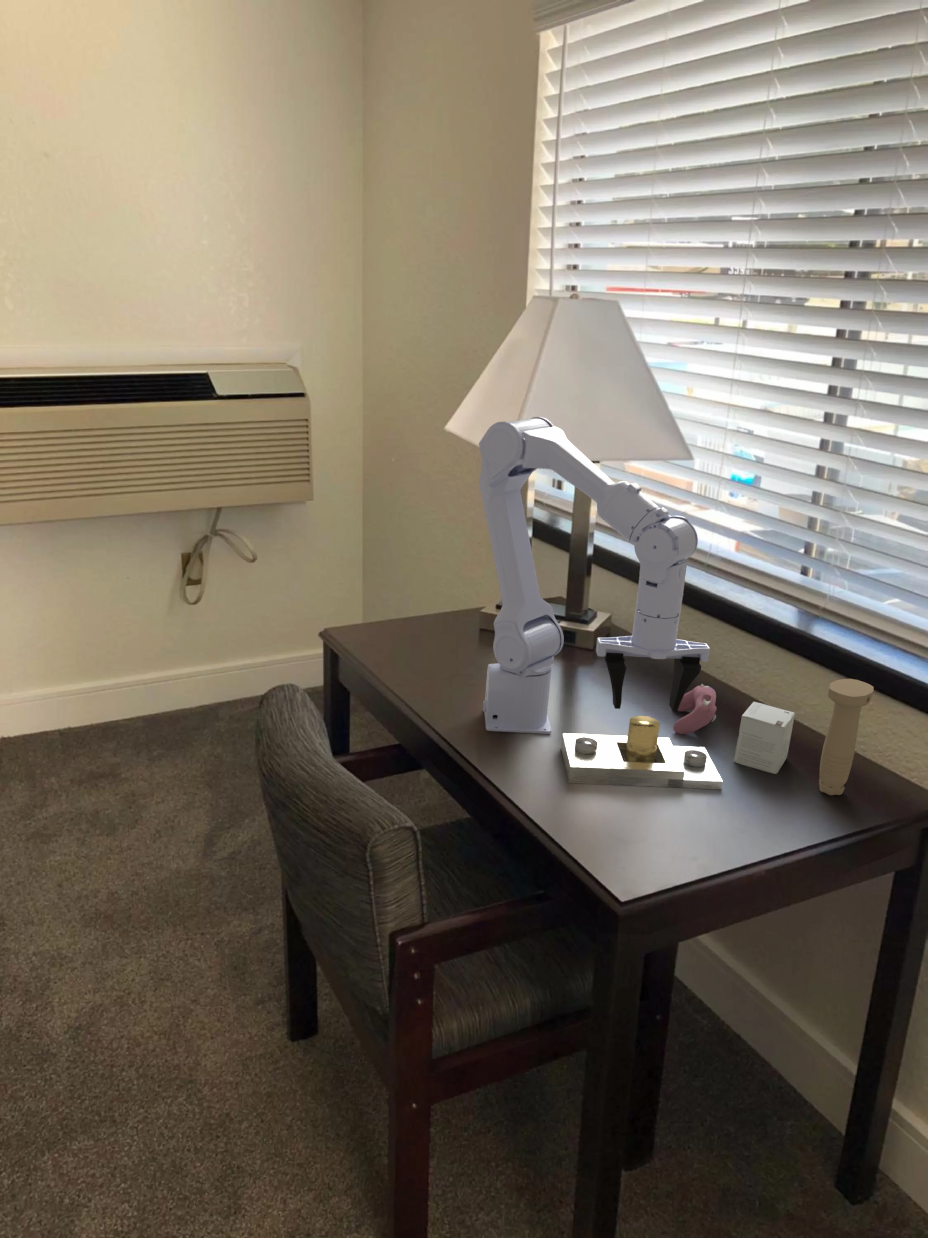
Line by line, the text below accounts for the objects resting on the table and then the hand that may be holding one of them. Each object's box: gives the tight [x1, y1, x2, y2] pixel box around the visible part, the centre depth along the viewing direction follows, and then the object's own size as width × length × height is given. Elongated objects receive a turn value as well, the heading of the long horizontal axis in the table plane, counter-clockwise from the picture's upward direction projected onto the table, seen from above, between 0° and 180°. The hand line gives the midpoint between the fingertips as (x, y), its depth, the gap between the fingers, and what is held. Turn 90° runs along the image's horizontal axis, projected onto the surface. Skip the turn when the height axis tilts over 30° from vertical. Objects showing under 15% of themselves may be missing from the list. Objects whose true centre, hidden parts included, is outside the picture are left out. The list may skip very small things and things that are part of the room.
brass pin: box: [623, 715, 661, 763], centre depth 134 cm, size 4×4×7 cm
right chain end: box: [609, 745, 723, 790], centre depth 135 cm, size 15×10×2 cm, turn 91°
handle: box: [818, 678, 874, 796], centre depth 130 cm, size 5×6×15 cm
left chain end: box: [560, 732, 685, 785], centre depth 135 cm, size 15×10×4 cm, turn 91°
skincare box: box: [733, 701, 796, 775], centre depth 138 cm, size 6×6×7 cm
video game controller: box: [673, 683, 717, 735], centre depth 149 cm, size 10×5×7 cm, turn 169°
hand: (644, 707), depth 133 cm, fingers open, 7 cm apart
